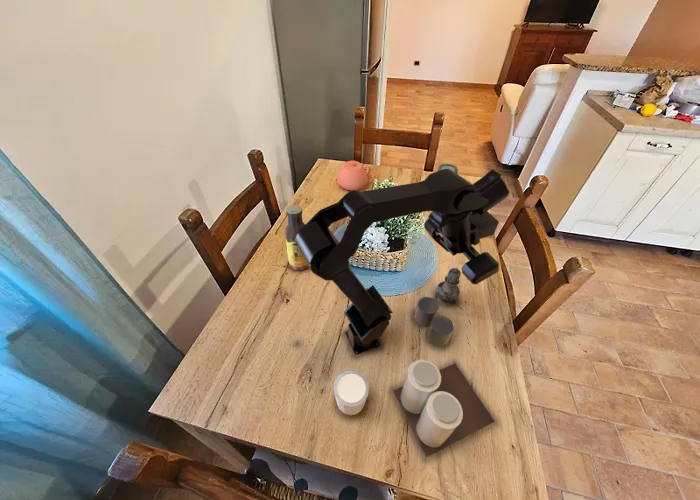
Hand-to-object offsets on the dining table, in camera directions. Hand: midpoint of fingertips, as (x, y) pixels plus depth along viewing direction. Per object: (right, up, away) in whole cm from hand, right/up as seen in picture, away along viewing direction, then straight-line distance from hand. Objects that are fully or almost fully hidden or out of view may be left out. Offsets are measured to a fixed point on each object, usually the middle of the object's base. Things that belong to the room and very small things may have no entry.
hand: (461, 263), depth 73 cm
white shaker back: (-13, -28, -9) cm, 32 cm away
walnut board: (-7, -29, -10) cm, 31 cm away
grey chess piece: (0, -10, +11) cm, 14 cm away
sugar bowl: (-25, +29, +51) cm, 63 cm away
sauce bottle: (-41, -1, +19) cm, 45 cm away
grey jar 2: (-5, -18, +2) cm, 19 cm away
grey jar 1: (-7, -14, +6) cm, 17 cm away
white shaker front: (-10, -32, -13) cm, 36 cm away
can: (+7, +20, +41) cm, 46 cm away
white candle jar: (-26, -28, -9) cm, 40 cm away
